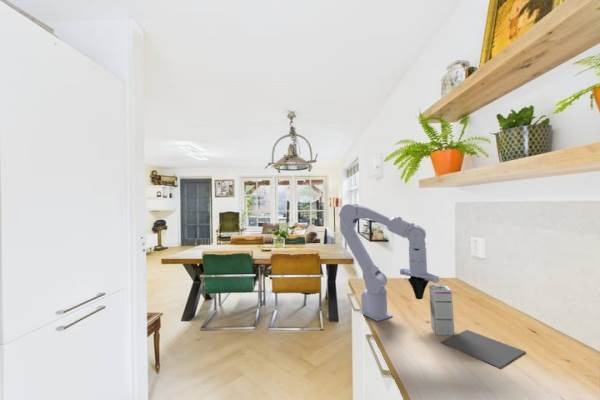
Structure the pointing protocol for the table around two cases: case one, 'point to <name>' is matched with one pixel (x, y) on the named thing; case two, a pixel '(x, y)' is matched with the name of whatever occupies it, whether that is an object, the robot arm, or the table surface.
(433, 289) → the syrup box
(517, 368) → the table surface
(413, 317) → the table surface
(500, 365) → the rubber mat
